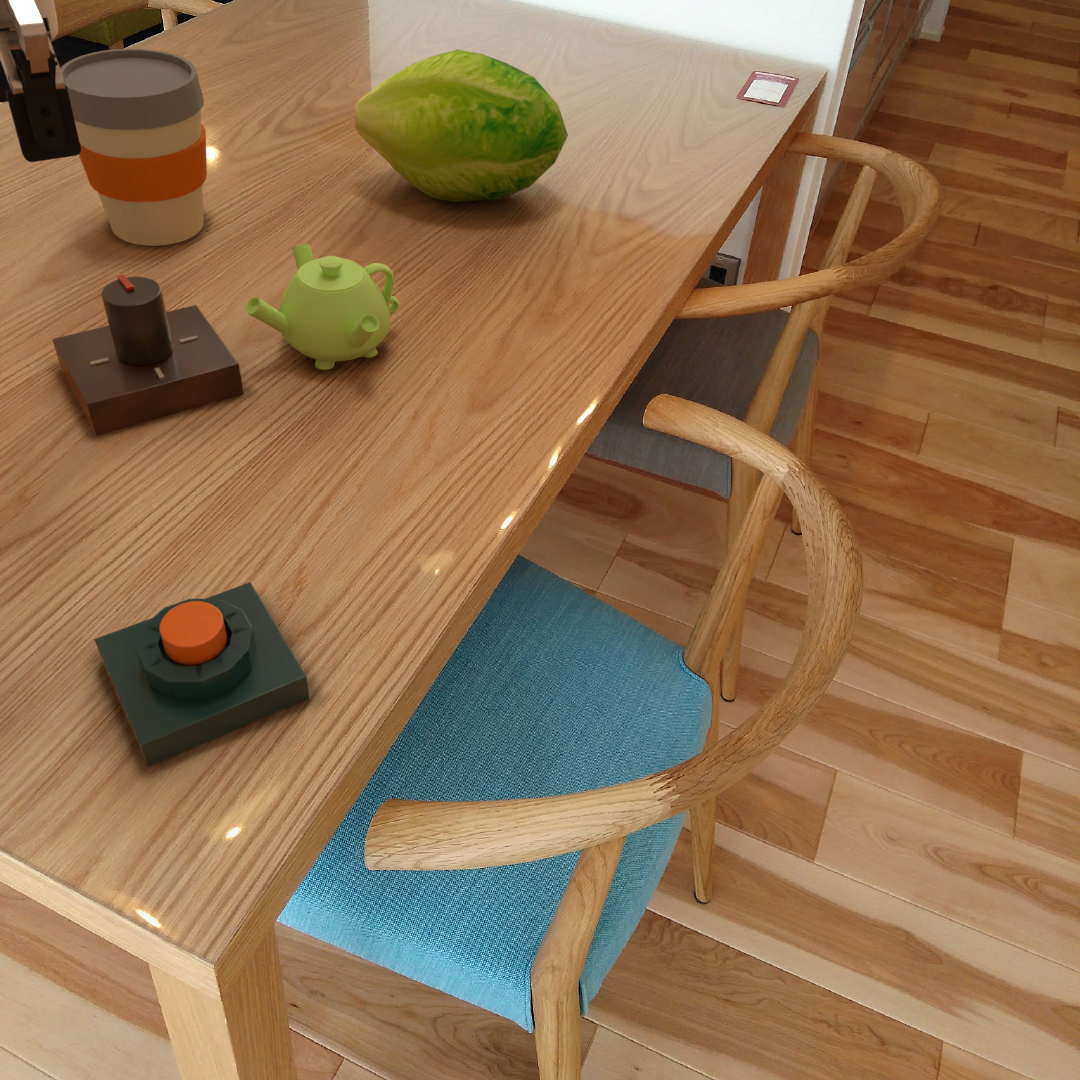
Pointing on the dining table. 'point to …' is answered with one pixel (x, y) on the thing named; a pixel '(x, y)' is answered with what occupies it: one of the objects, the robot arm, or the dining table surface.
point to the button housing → (202, 678)
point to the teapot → (331, 308)
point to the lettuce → (463, 126)
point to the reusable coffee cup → (141, 141)
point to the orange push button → (193, 633)
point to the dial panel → (148, 373)
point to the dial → (137, 320)
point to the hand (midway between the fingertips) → (32, 126)
